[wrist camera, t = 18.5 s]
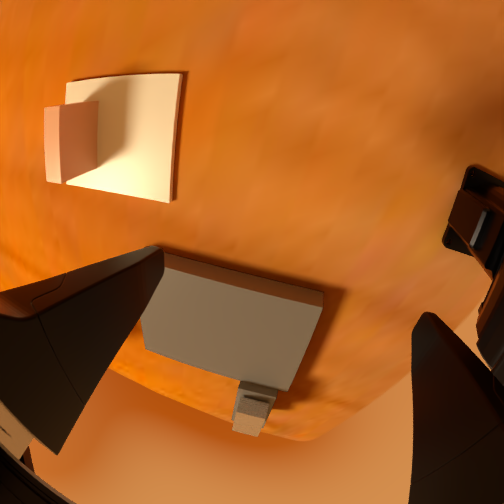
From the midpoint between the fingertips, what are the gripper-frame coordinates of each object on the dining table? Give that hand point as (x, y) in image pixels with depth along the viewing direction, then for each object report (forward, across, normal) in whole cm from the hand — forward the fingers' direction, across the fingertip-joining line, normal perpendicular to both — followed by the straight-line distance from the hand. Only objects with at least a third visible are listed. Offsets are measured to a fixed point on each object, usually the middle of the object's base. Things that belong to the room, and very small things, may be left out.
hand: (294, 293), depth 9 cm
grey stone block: (+9, 0, +24) cm, 25 cm away
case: (+12, +5, +18) cm, 22 cm away
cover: (+12, +16, -2) cm, 21 cm away
